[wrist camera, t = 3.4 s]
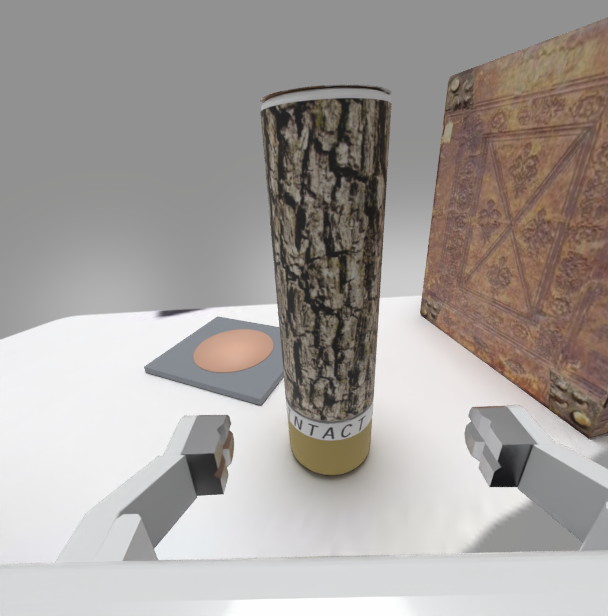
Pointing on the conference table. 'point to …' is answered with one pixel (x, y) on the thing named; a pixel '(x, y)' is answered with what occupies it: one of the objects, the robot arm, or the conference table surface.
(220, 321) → the card
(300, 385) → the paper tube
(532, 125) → the book
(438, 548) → the conference table surface
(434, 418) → the conference table surface
